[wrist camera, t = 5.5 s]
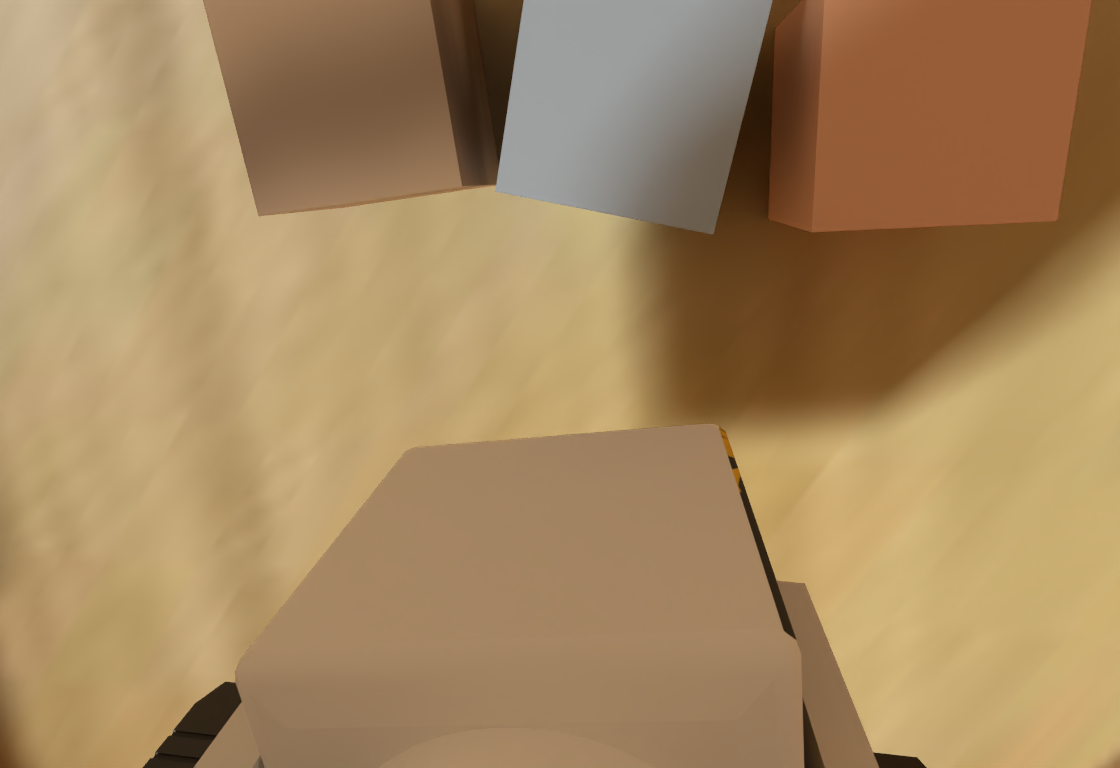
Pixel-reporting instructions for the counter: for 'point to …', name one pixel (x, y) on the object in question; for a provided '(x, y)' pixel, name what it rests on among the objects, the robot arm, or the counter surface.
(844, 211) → the terracotta cube
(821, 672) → the robot arm
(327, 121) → the walnut cube
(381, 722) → the medicine bottle
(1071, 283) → the counter surface
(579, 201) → the slate blue cube
